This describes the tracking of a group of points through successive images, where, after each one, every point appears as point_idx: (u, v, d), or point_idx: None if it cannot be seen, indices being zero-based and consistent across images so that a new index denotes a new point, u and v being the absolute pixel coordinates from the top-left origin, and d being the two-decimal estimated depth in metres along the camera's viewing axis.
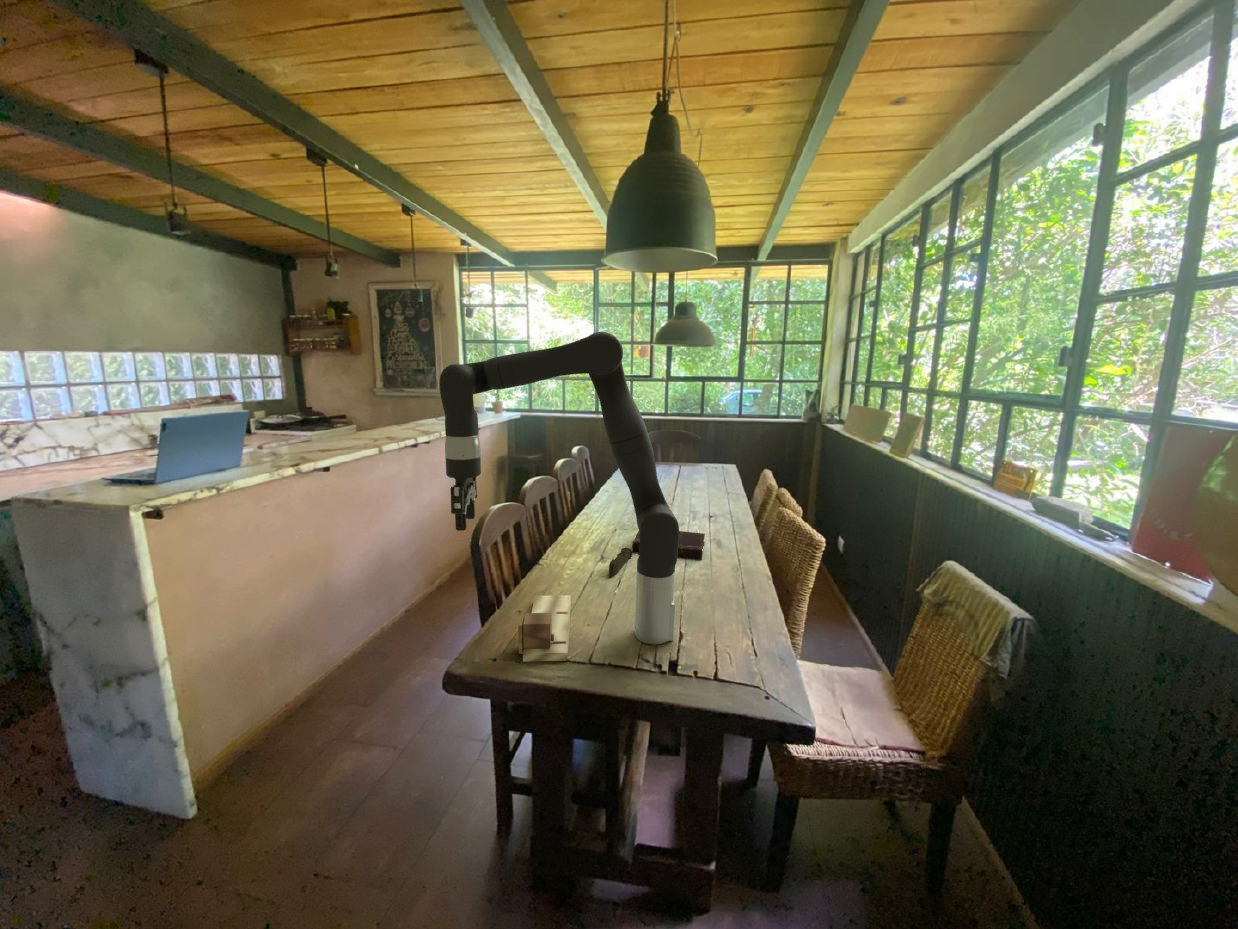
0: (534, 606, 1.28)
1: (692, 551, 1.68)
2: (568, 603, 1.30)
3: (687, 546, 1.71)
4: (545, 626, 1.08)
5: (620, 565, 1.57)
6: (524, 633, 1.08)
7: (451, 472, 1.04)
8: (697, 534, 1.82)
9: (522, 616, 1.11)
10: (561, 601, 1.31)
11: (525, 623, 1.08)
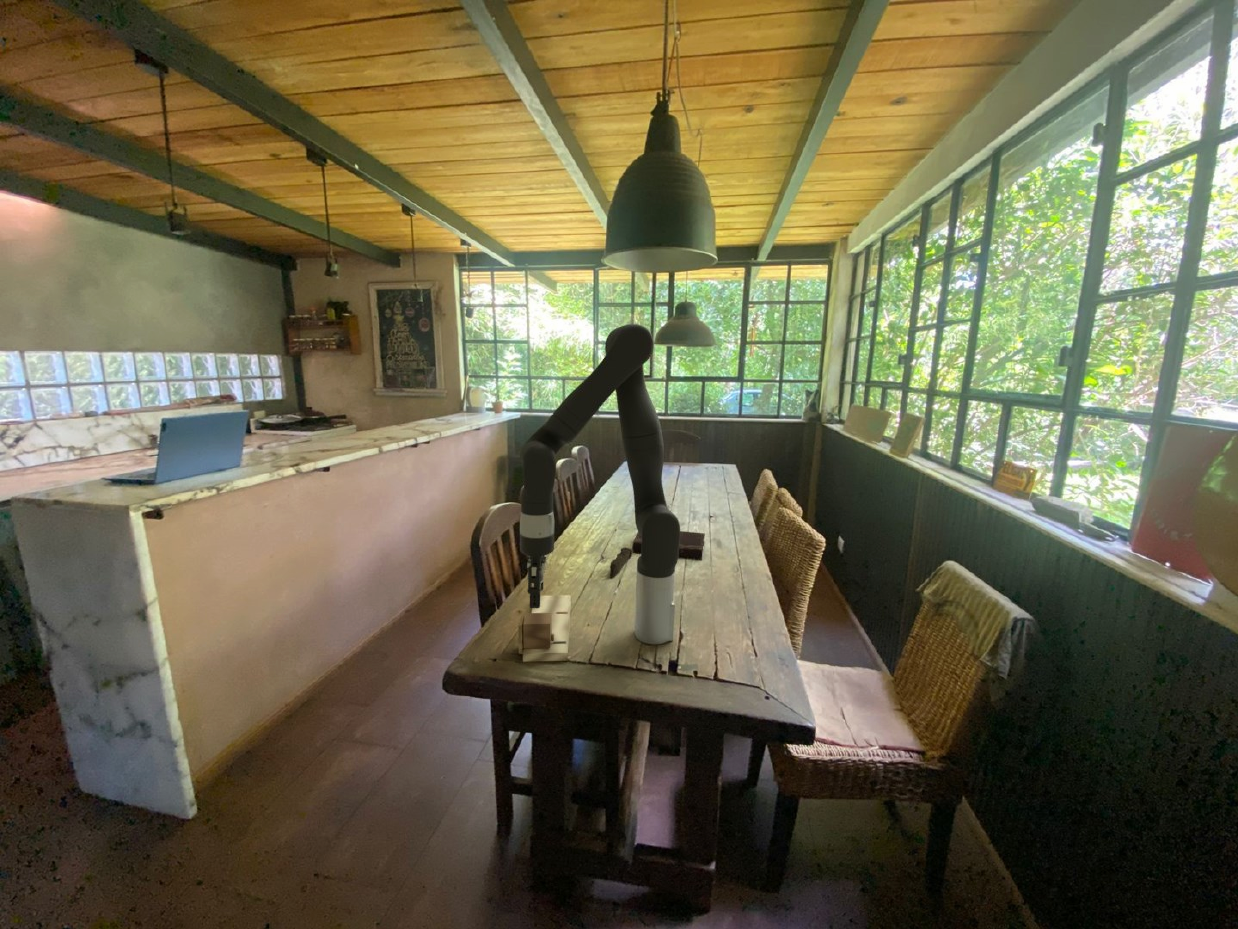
0: None
1: (692, 551, 1.68)
2: (568, 603, 1.30)
3: (687, 545, 1.71)
4: (545, 626, 1.08)
5: (621, 565, 1.57)
6: (524, 633, 1.08)
7: (527, 550, 1.03)
8: (697, 534, 1.82)
9: (522, 616, 1.11)
10: (561, 601, 1.31)
11: (525, 623, 1.08)
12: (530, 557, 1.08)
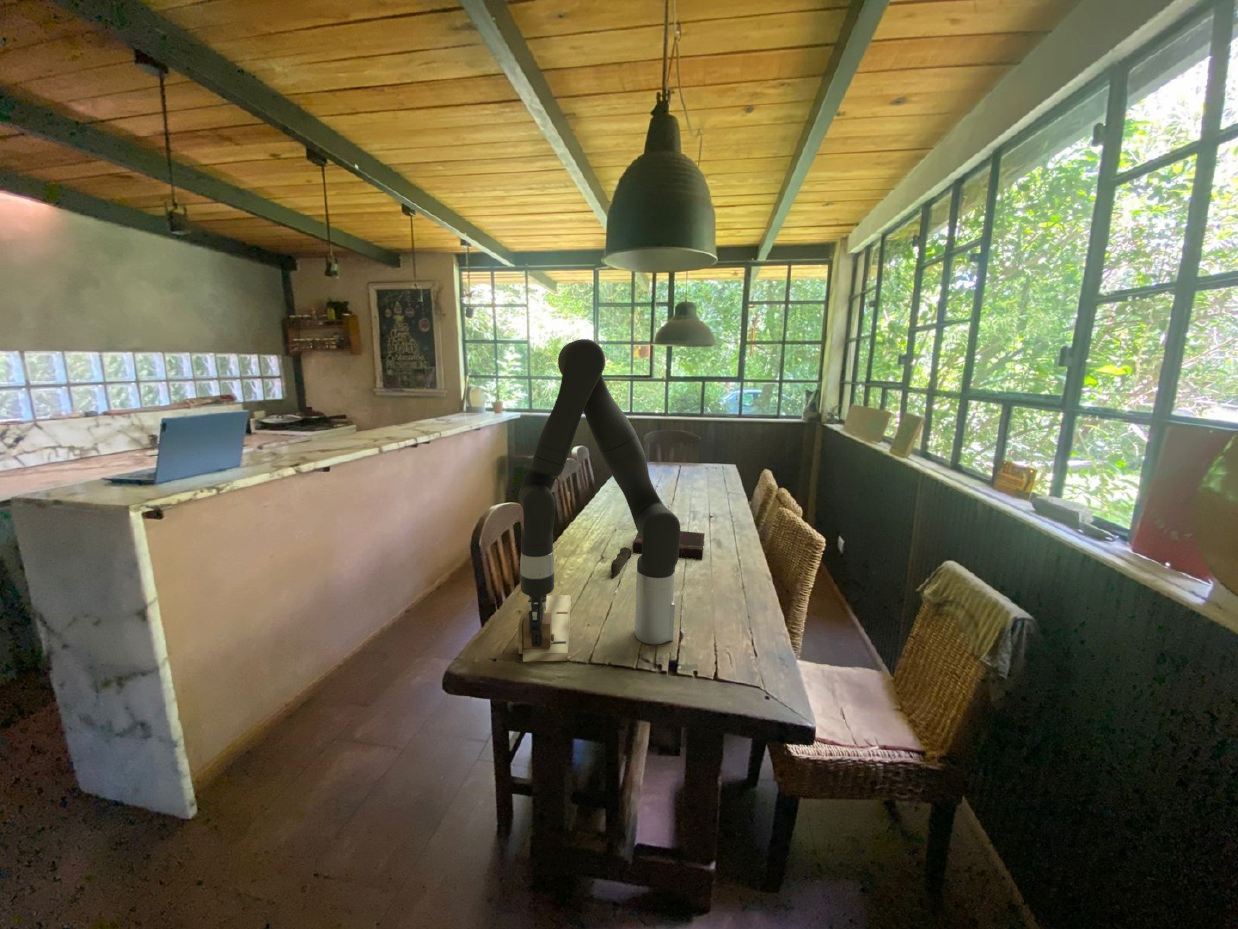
0: None
1: (693, 551, 1.69)
2: (568, 603, 1.30)
3: (688, 545, 1.71)
4: (545, 626, 1.08)
5: (621, 565, 1.57)
6: (524, 633, 1.08)
7: (527, 590, 1.05)
8: (697, 534, 1.82)
9: (522, 616, 1.11)
10: (561, 601, 1.31)
11: (525, 623, 1.08)
12: None
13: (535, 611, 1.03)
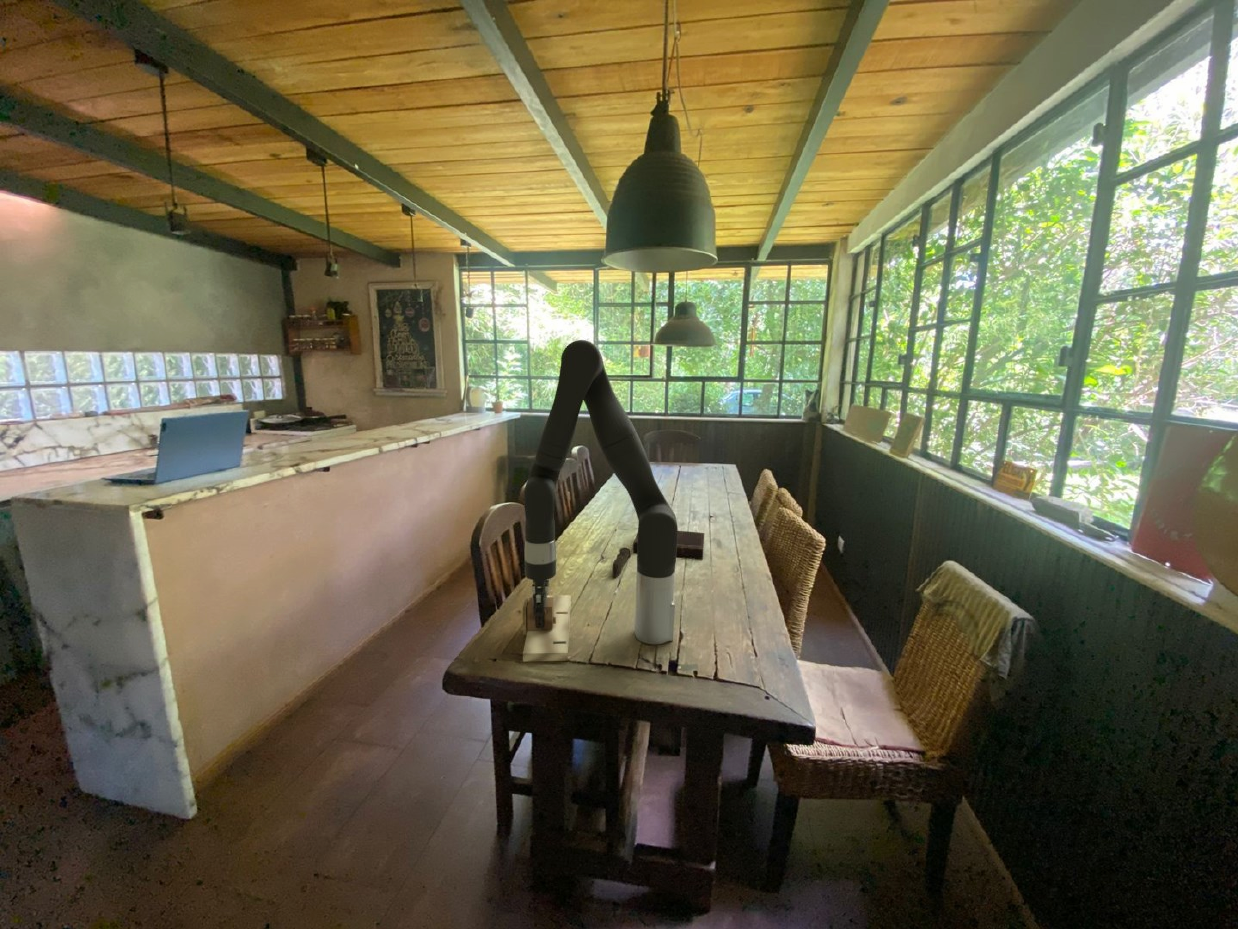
0: None
1: (693, 551, 1.69)
2: (568, 603, 1.30)
3: (688, 545, 1.71)
4: (547, 609, 1.16)
5: (622, 565, 1.57)
6: (528, 616, 1.15)
7: (531, 575, 1.13)
8: (697, 533, 1.83)
9: (526, 600, 1.19)
10: (561, 601, 1.31)
11: (529, 606, 1.15)
12: (534, 580, 1.18)
13: (539, 594, 1.11)
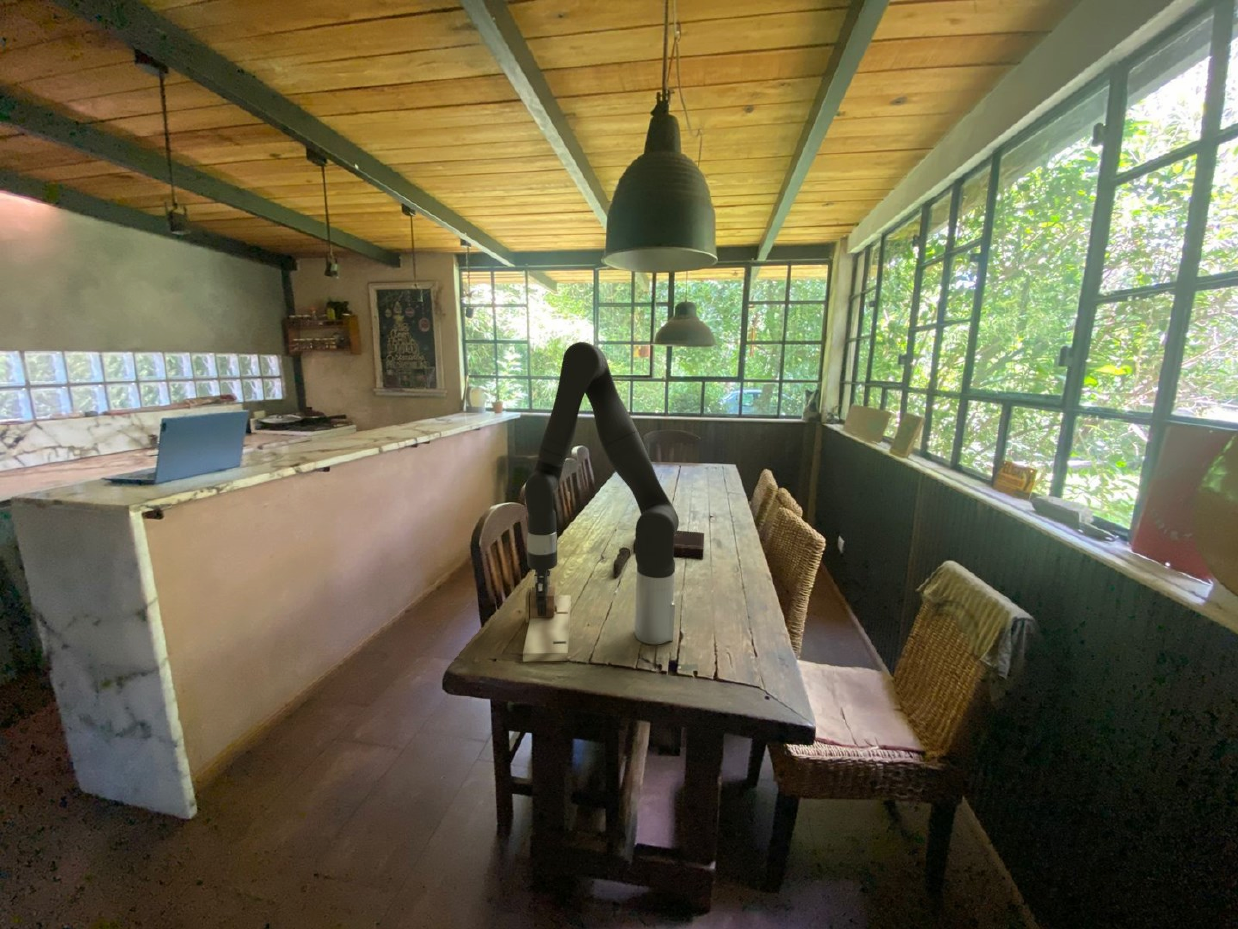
0: None
1: (693, 550, 1.69)
2: (568, 603, 1.30)
3: (688, 545, 1.71)
4: (549, 598, 1.21)
5: (622, 565, 1.57)
6: (531, 604, 1.21)
7: (534, 565, 1.18)
8: (696, 533, 1.83)
9: (528, 589, 1.25)
10: (561, 601, 1.31)
11: (531, 595, 1.21)
12: (536, 570, 1.24)
13: (541, 583, 1.16)
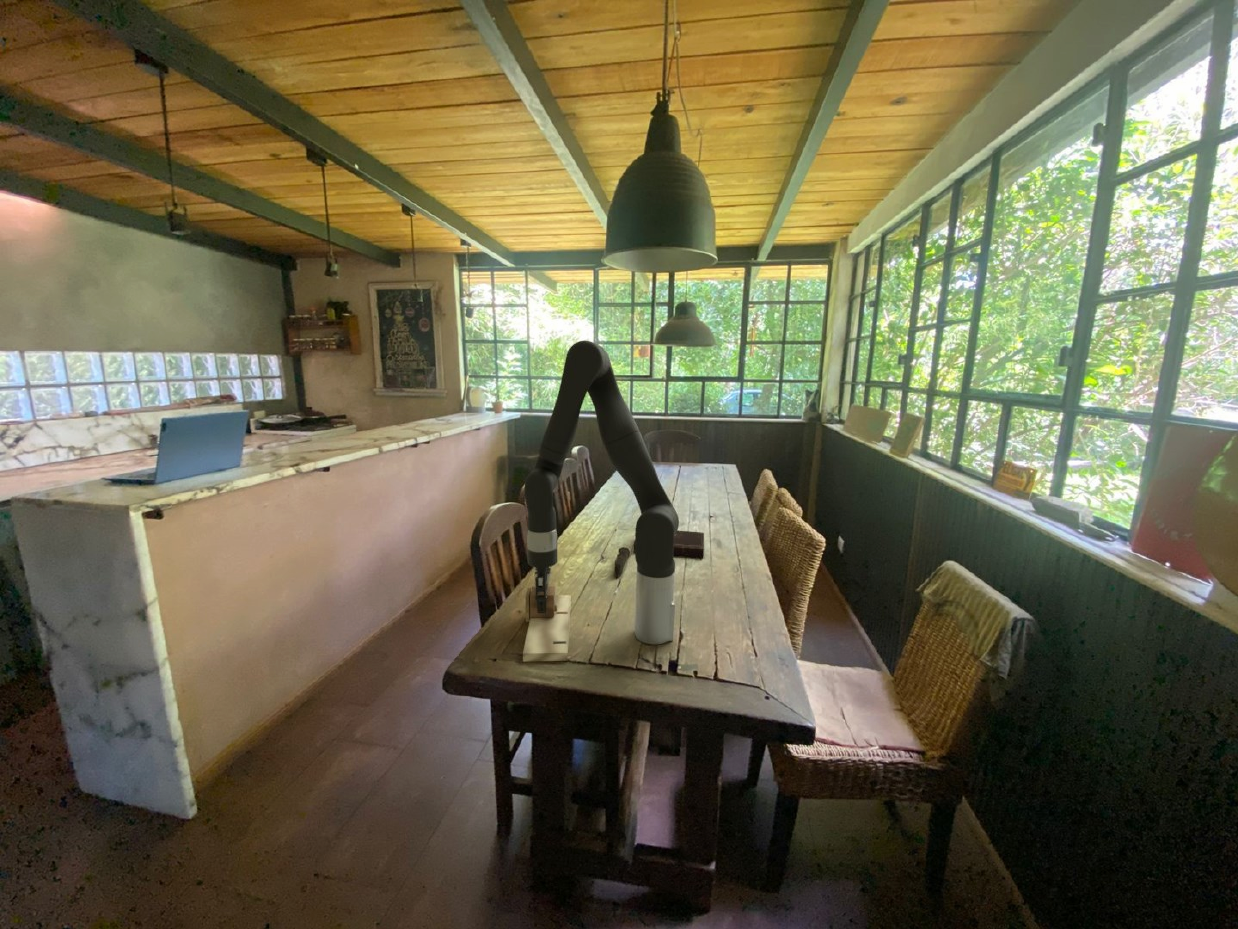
0: None
1: (694, 550, 1.69)
2: (568, 603, 1.30)
3: (688, 545, 1.72)
4: (549, 598, 1.21)
5: (623, 565, 1.57)
6: (531, 604, 1.21)
7: (534, 562, 1.18)
8: (696, 533, 1.83)
9: (529, 589, 1.25)
10: (561, 601, 1.31)
11: (531, 594, 1.21)
12: (536, 568, 1.23)
13: (541, 577, 1.16)
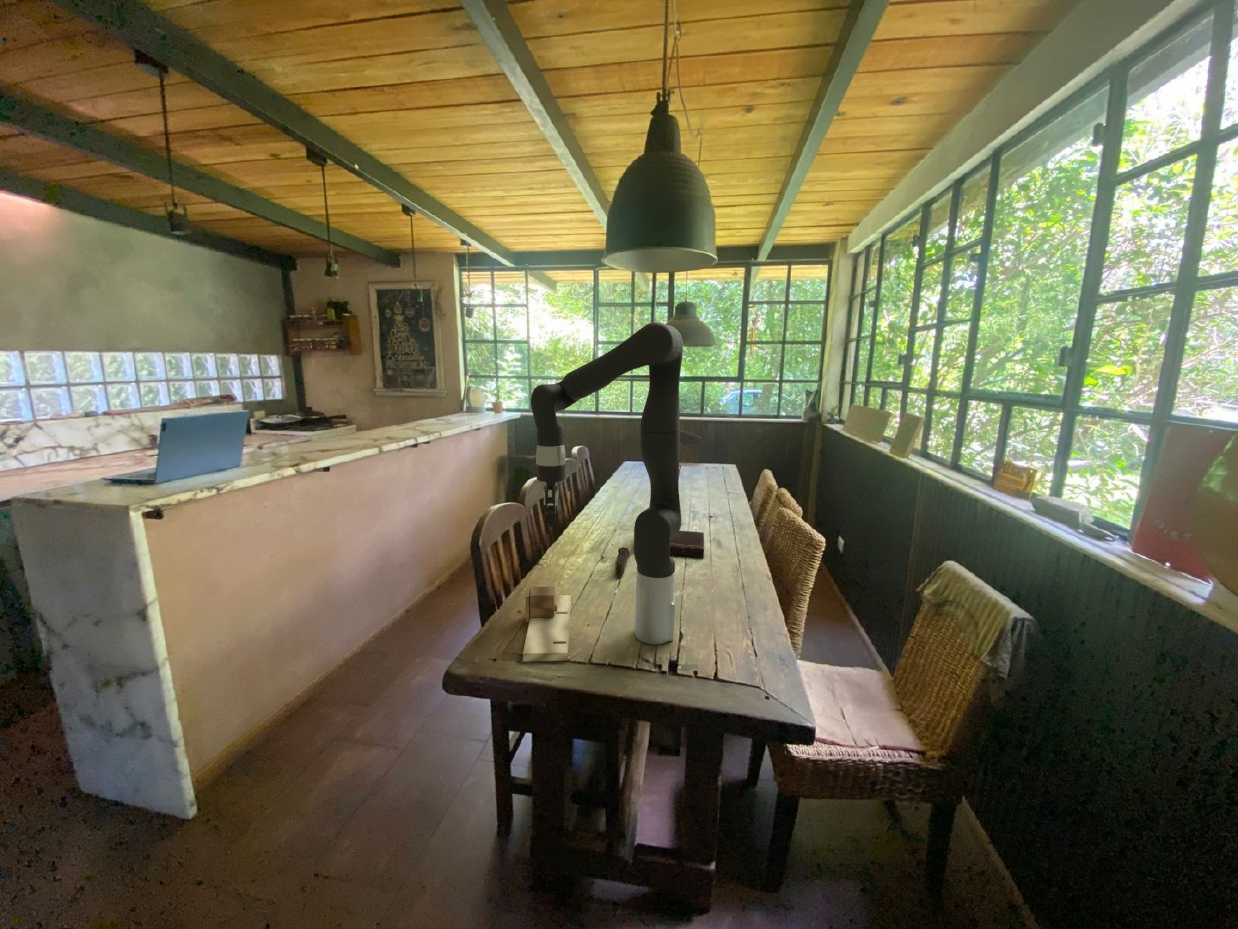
0: None
1: (694, 550, 1.69)
2: (568, 603, 1.30)
3: (689, 545, 1.72)
4: (549, 598, 1.21)
5: (624, 565, 1.57)
6: (531, 604, 1.21)
7: (543, 477, 1.21)
8: (696, 533, 1.83)
9: (529, 589, 1.25)
10: (561, 601, 1.31)
11: (531, 594, 1.21)
12: (545, 486, 1.26)
13: (550, 489, 1.19)
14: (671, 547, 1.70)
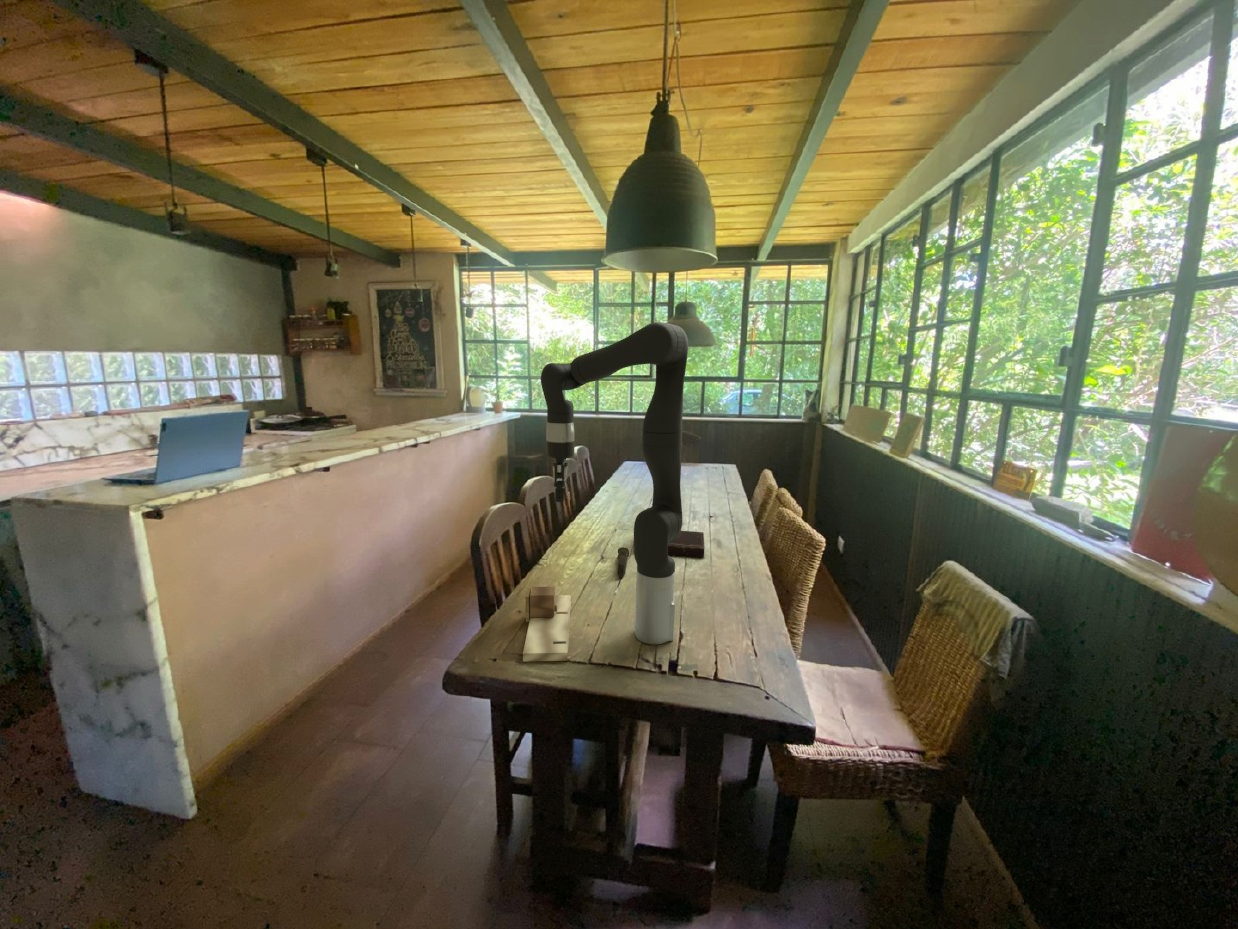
0: None
1: (694, 550, 1.69)
2: (568, 603, 1.30)
3: (689, 545, 1.72)
4: (549, 598, 1.21)
5: None
6: (531, 604, 1.21)
7: (553, 453, 1.26)
8: (696, 533, 1.83)
9: (529, 589, 1.25)
10: (561, 601, 1.31)
11: (531, 594, 1.21)
12: (554, 462, 1.31)
13: (559, 464, 1.24)
14: (671, 547, 1.70)
